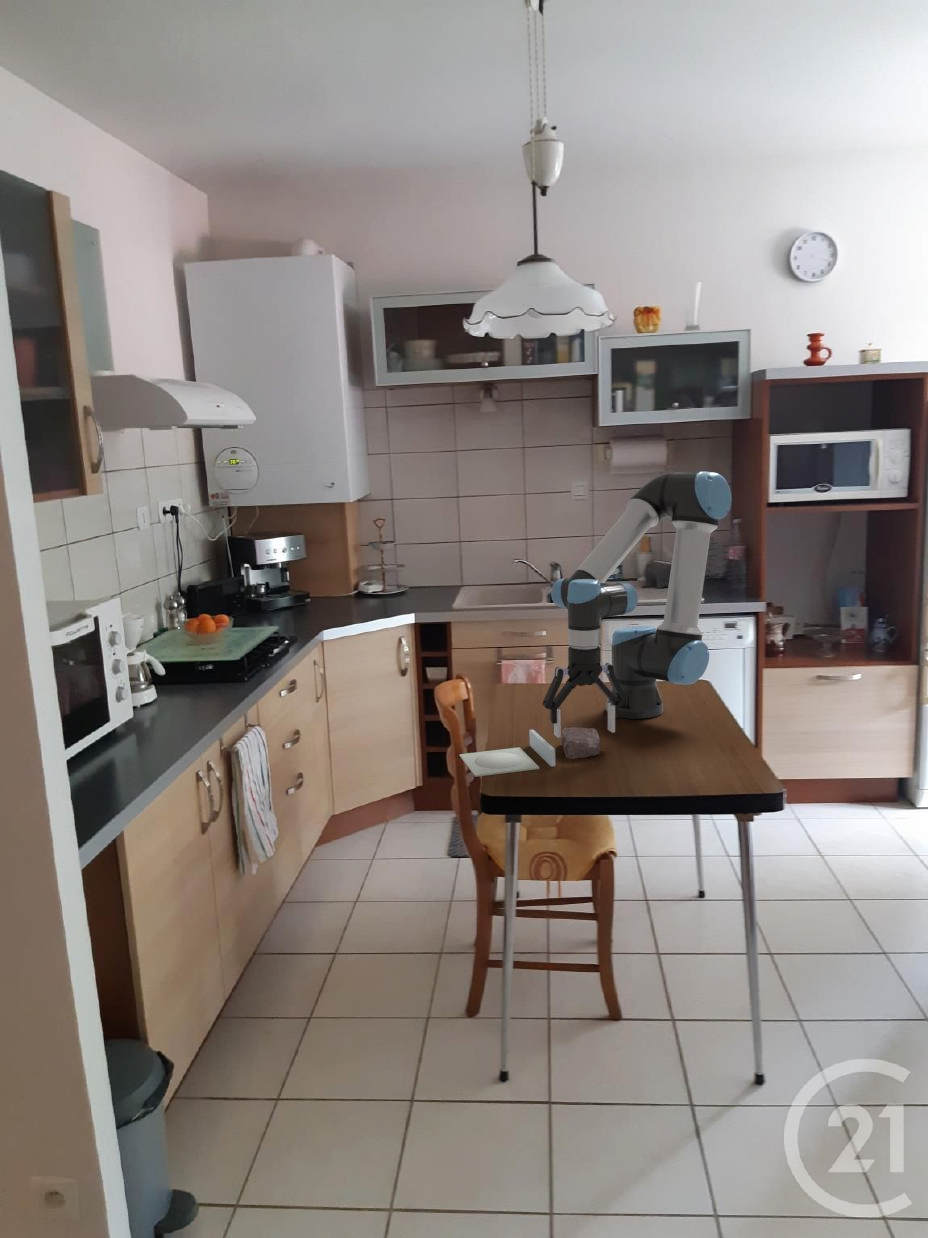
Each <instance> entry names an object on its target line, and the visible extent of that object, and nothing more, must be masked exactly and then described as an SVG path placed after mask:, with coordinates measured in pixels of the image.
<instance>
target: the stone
mask: <svg viewBox="0 0 928 1238" xmlns="http://www.w3.org/2000/svg"><path fill="white" fill-rule="evenodd" d="M600 740H601V739H600V736H599V733H598V730H597V729H596V728H586V727H563V730H562V731H561V744H562V748H563V753H564V755H565V758H567V759H579V758H580V759H581V758H582V759H584V758H588V757H594V756H596V755H600V750H601V741H600Z"/></svg>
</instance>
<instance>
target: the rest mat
mask: <svg viewBox="0 0 928 1238" xmlns="http://www.w3.org/2000/svg"><path fill="white" fill-rule="evenodd" d="M459 758H461V760H462V761H463V762H464V764H465V766H466V767H467V768H468V769H469V770H470V772H471V773H472V774H473V776H474V777H475V778H476V777H485V776H491V775H493V776H494V775H500V774H509V773H516V772H517V773H518V772H523V771H533V770H534V771H535V770H540V766H539V765H537V763H536V762H535V761H534V760H533V759H532V758H531V757H530V756H529V754H527V753H526V752H525V751H524V750H523V749H522V748H521V747H511V748H503V749H495V750H487V751H486V750H484V751H477V752H467V753H461V754H459Z"/></svg>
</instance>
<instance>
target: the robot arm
mask: <svg viewBox="0 0 928 1238" xmlns="http://www.w3.org/2000/svg"><path fill="white" fill-rule="evenodd" d="M731 507H732V491H731V488H730V486H729V484H728V481H727V479H726V478H725V477H724V476H722V475H721V474H719V473H718V472H711V471H703V470H702V471H701V470H700V471H678V472H677V471H670V472H665V473H662V474H659V475H658V476H656V477H654V478H652V479H651V480H649V481H648V482H646V483H645V484H644V485H643V486H641V488H640V489H638V490H636V492H635V493H634V494H633V495H632V497H631V498H630V499H629V500H628V501H627V503H626V509H625V511H624V512H623V513H622V514H621V516H620V517H619V518H618V519H617V520H616V522H615V523H614V524H613V526H611V528H610V529H609V530H608V531H607V533H606V534H605V535H604V536H603V537H602V539H600V541H599V542H598V543H597V544H596V546H595V547H594V548H593V549H592V551H591V552H589V554H588V555H587V557H586V558H585V559H584V560H583V561H582V563H581V564H580V565H579V566H578V568H576V570H574V572H573V573H572V575H571V576H570V577H568V578H567V577H564V578H559V579H557V580H556V581H555V582H554V583H553V585H552V588H551V592H550V596H551V600H552V602H553V604H554V605H556V606H557V607H559V608H563V609H566V610H567V623H568V625H567V641H568V642H567V644H568V648H567V653H568V654H567V655H568V656H567V659H568V661H567V662H568V665H567V668H561V667H559V666H557V667H555V669H554V677H553V678H552V680H551V682H550V685H549V687H548V690H547V691H546V694H545V696H544V698H543V701H542V703H541V705H542V707H544V708H545V709H546V710H549V719H550V720H549V721H550V723H552V724H553V736H555V737H556V738H557V739H559V738H561V739H562V720H561V718H562V716H561V714H562V713H561V709H559V707H560V706H562V704H563V703H564V701H565V700H566V698H568V696H569V695H570V693H571V692H572V690H574V689H575V688H576V687H578V686H579V687H583V686H592V685H593V684H595V685H596V686H597V687H598V688H599V690H600V691H601V692H602V693H603V695H604V696H605V697H606V698H607V699H606V705H605V706H606V707H605V708H606V709H605V711H606V713H607V730H608V731H609V732H610V733H612V734H613V733H616V718H621V719H632V720H633V719H634V720H635V719H636V720H639V719H642V720H643V719H649V718H654V717H657V716H660V715H662V713H664V703H663V700H662V697H661V694H660V691H659V689H658V688H659V687H658V684H657V680H658V681H664V682H668V683H671V684H674V685H685V686H686V685H687V686H688V685H692V684H694V683H696V682H698V681H699V680H700V678H702V677H703V675H704V674H705V673H706V670H707V668H708V666H709V661H710V650H709V648H708V647H709V646H708V645H707V644H706V643H705V642H704V641H702V640H703V633H702V631H701V630H700V628H699V627H698V625H699V617H700V611H701V604H702V597H703V591H704V582H705V578H706V576H705V575H706V569H707V564H708V563H707V561H708V555H709V550H710V549H709V547H710V539H711V534H712V533H713V532H714V531H715V530H716V529H718V527H719V521H720V520H722V519H724V518H725V517H727V516H728V513H729V512H730V510H731ZM666 518H671V524H672V525H673V527H674V528H675V530H676V531H675V535H674V536H675V538H674V545H673V550H672V557H671V558H672V559H671V566H670V573H669V579H668V581H669V582H668V587H667V594H666V602H665V608H664V616H663V621H662V623H660V624H659V625H658V626H657V627H656V626H652V625H642V626H640V625H639V626H631V627H623V628H620V629H617V630H614V632H613V634H612V636H611V637H612V641H611V663H608V662H606V663H605V664H604V665H602V664H601V647H600V645H601V641H602V640H601V627H602V626H601V624H602V623H601V621H602V620H601V619H605V618H609V617H616V616H623V615H626V614H628V613H631V612H633V611H635V609H636V608H637V606H638V601H639V600H638V599H639V596H638V592H637V590H636V588H635V586H634V585H632V584H630V583H629V582H616V583H606V582H607V580H608V579H609V577H610V576H611V575H612V574H613V573H614V571H615V570H616V569H617V568H618V567H619V565H620V564H621V563H622V562H623V560H624V559H625V558H626V557H627V555H629V553H630V552H631V551H632V549H634V547H635V546H636V544H637V543H638V542H639V541H640V540H641V538H642V537H643V536H644V535H645V533H646V532H647V531H648V530H649V529H650V528H654V527H656V526H657V525H658V524H659V522H660V521H662V520H664V519H666ZM602 672H603V673H604V674H605V675H606V677H607V679H608V681H609V683H610V684H611V688H610V689H609V688H608V687H607V686H606V684H604V681H602V679H601V678H600V677H599V676H601V674H602ZM566 675H568V676H569V677H568V678H567V680H566V681H565V684H564V685H563V686H562V688H561V689H560V691H559V688H560V686H561V684H562V683H563V679H564V678H565V677H566ZM558 691H559V692H558Z"/></svg>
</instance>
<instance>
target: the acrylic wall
mask: <svg viewBox="0 0 928 1238" xmlns="http://www.w3.org/2000/svg"><path fill="white" fill-rule="evenodd" d="M528 731H529V732H528V733H529V747H530V748H531V749H533V751H534V752H536V753H537V754H538V756H540V758H542V760H544V761H545V762H546V763H547V764H548V766H550V767H556V749H555V748H554V747H553V746H552V744H550V743H549V742H548V741H547V740H545V738H543V737H542V736H541V735H540V734H539V733H538V732H537V731H536V730H534V729H529V730H528Z"/></svg>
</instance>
